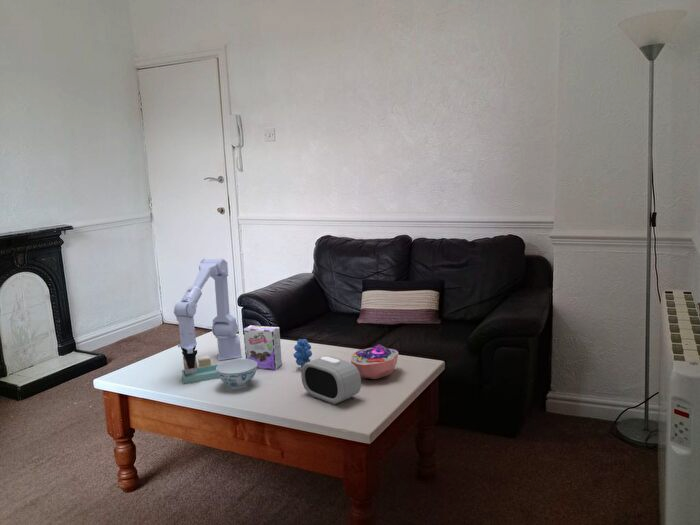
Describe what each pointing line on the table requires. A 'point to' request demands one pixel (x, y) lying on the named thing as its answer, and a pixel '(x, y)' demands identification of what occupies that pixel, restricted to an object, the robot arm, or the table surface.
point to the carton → (204, 361)
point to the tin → (186, 369)
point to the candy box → (263, 346)
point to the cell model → (375, 361)
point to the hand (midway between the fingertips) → (190, 366)
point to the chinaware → (237, 372)
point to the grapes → (302, 352)
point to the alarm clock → (331, 379)
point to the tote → (201, 374)
